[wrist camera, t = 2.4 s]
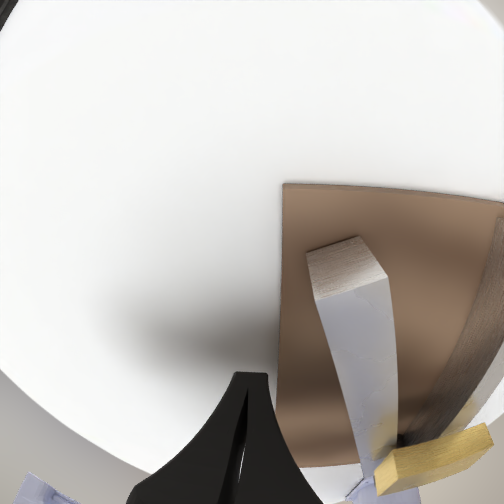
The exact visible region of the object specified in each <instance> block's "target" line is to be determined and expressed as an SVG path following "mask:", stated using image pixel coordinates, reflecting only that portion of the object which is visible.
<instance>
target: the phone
mask: <svg viewBox="0 0 504 504" xmlns="http://www.w3.org/2000/svg"><path fill="white" fill-rule="evenodd" d="M17 2H18V0H0V31H1V29H2V27H3V26H4V24H5V22H6V20H7V18H8V17H9V15H10V13H11V12H12V10H13V8H14V7H15V5H16V3H17Z"/></svg>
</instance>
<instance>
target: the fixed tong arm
mask: <svg viewBox="0 0 504 504" xmlns="http://www.w3.org/2000/svg"><path fill="white" fill-rule="evenodd" d="M503 377H504V218H499V217H497V219H496V224H495V229H494V234H493V238H492V242H491V247H490V251H489V254H488V258H487V262H486V265H485V269H484V272H483V276H482V279H481V282H480V285H479V288H478V291H477V294H476V297H475V300H474V302H473V305H472V308H471V310H470V313H469V316H468V318H467V321H466V323H465V325H464V328H463V330H462V332H461V335H460V337H459V339H458V341H457V343H456V346H455V348H454V350H453V352H452V354H451V356H450V358H449V360H448V362H447V364H446V366H445V368H444V370H443V372H442V373H441V375H440V377H439V379H438V381H437V382H436V384H435V386H434V388H433V389H432V391H431V393H430V394H429V396H428V398H427V399H426V401H425V403H424V404H423V406H422V407H421V409H420V410H419V412H418V413H417V415H416V416H415V418H414V419H413V421H412V422H411V424H410V425H409V427H408V428H407V429H406V431H405V432H404V434H403V435H402V434H397V444H396V449H399V448H403V447H408V446H412V445H416V444H420V443H424V442H428V441H432V440H435V439H439V438H442V437H445V436H448V435H451V434H454V433H457V432H460V431H463V430H464V429H465V428H466V426H467V425H468V424H469V423H470V422H471V420H472V419H473V418H474V417H475V415H476V414H477V413H478V412H479V410H480V409H481V408H482V407H483V405H484V404H485V403H486V401H487V400H488V398H489V397H490V396H491V394H492V393H493V391H494V390H495V389H496V387H497V386H498V384H499V383H500V381H501V380H502V378H503ZM373 479H374V486H375V487H376V482H375V476H373Z"/></svg>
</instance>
